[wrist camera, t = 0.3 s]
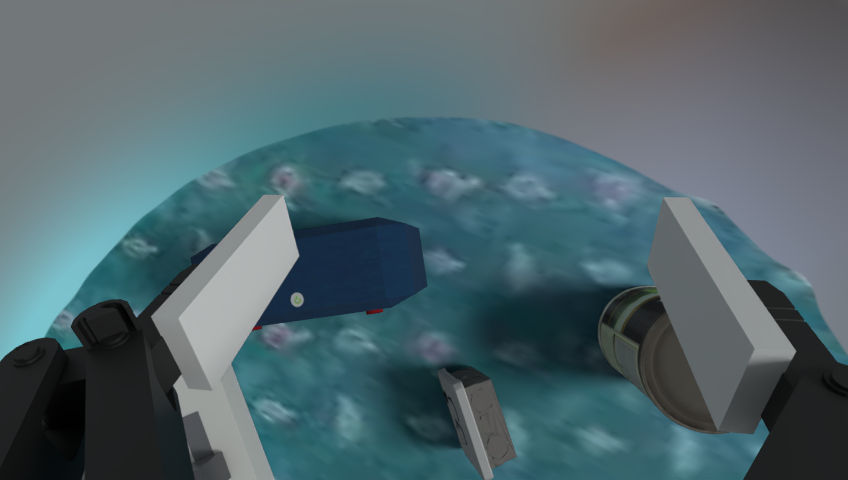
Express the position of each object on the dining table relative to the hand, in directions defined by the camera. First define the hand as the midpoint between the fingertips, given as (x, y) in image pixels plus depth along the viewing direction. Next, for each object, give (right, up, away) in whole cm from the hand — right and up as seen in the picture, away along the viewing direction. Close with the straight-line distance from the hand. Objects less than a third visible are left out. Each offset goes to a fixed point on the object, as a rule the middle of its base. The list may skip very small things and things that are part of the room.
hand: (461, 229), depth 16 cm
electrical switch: (+4, -18, +35) cm, 40 cm away
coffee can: (+22, -10, +33) cm, 41 cm away
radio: (-11, -4, +37) cm, 39 cm away
